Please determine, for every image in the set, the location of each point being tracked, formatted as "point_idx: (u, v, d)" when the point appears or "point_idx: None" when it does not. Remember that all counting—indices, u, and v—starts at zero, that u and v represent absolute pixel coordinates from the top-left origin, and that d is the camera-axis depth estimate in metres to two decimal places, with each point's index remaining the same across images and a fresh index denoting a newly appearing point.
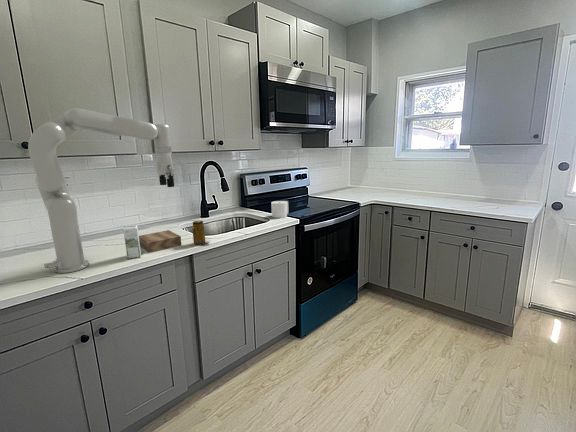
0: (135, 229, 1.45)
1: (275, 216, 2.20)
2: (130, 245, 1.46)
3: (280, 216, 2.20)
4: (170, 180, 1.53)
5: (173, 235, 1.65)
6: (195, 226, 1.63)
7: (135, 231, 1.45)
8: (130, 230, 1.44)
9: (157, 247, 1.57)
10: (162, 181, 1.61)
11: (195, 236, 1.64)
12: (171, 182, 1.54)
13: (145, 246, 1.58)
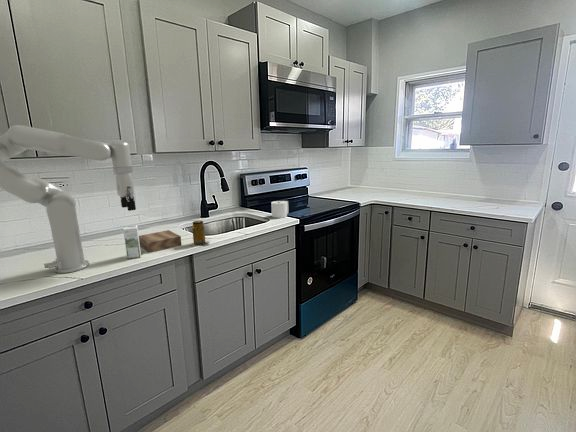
0: (135, 229, 1.45)
1: (275, 216, 2.20)
2: (130, 245, 1.46)
3: (280, 216, 2.20)
4: (130, 203, 1.40)
5: (173, 235, 1.65)
6: (195, 226, 1.63)
7: (135, 231, 1.45)
8: (130, 230, 1.44)
9: (157, 247, 1.57)
10: (124, 203, 1.48)
11: (195, 236, 1.64)
12: (132, 205, 1.40)
13: (145, 246, 1.58)
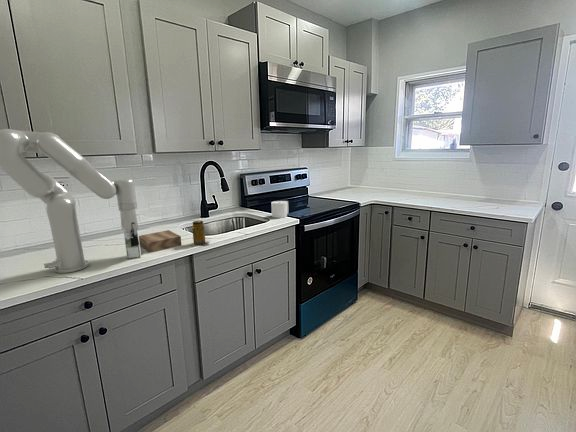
0: None
1: (275, 216, 2.20)
2: (130, 245, 1.46)
3: (280, 216, 2.20)
4: (134, 239, 1.44)
5: (173, 235, 1.65)
6: (195, 226, 1.63)
7: None
8: None
9: (157, 247, 1.57)
10: None
11: (195, 236, 1.64)
12: (135, 241, 1.45)
13: (145, 246, 1.58)
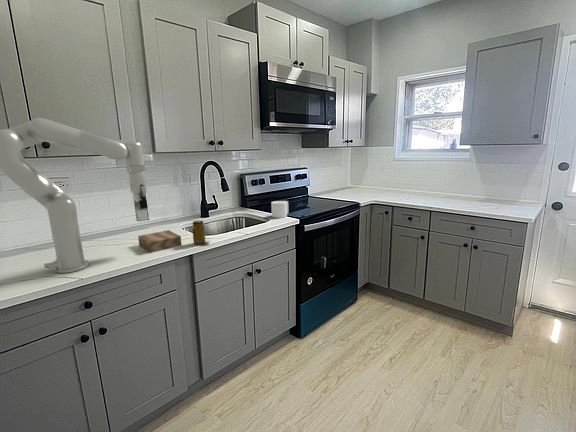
0: None
1: (275, 216, 2.20)
2: (139, 208, 1.49)
3: (280, 216, 2.20)
4: (143, 201, 1.47)
5: (173, 235, 1.65)
6: (195, 226, 1.63)
7: None
8: None
9: (157, 247, 1.57)
10: None
11: (195, 236, 1.64)
12: (144, 203, 1.48)
13: (145, 246, 1.58)
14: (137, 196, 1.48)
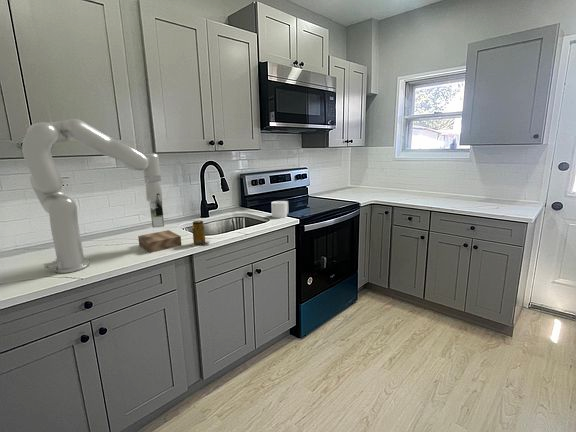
0: None
1: (275, 216, 2.20)
2: (155, 215, 1.59)
3: (280, 216, 2.20)
4: (159, 209, 1.57)
5: (173, 235, 1.65)
6: (195, 226, 1.63)
7: None
8: None
9: (157, 247, 1.57)
10: None
11: (195, 236, 1.64)
12: (160, 211, 1.58)
13: (145, 246, 1.58)
14: (153, 204, 1.58)
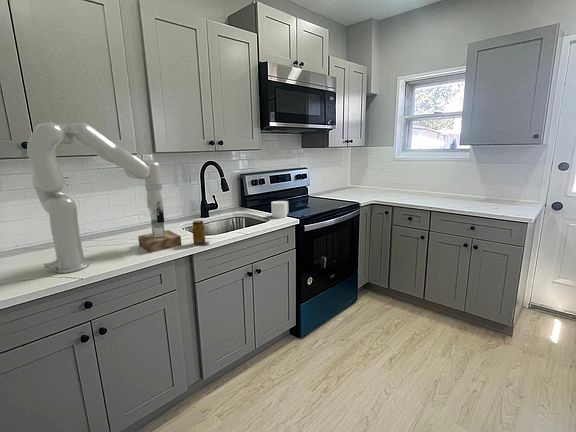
0: None
1: (275, 216, 2.20)
2: (156, 226, 1.60)
3: (280, 216, 2.20)
4: (160, 216, 1.57)
5: (173, 235, 1.65)
6: (195, 226, 1.63)
7: None
8: None
9: (157, 247, 1.57)
10: None
11: (195, 236, 1.64)
12: (161, 218, 1.58)
13: (145, 246, 1.58)
14: (154, 215, 1.58)
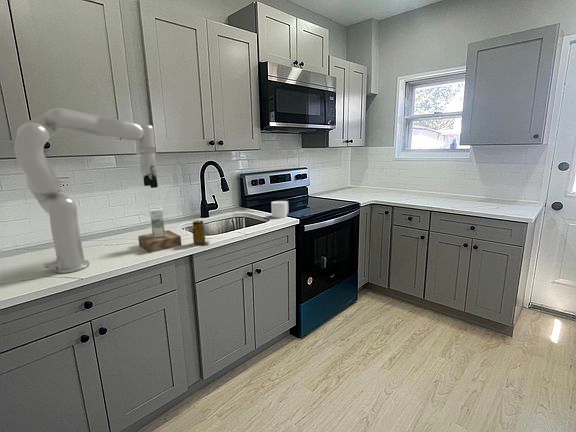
0: (161, 211, 1.59)
1: (275, 216, 2.20)
2: (156, 226, 1.60)
3: (280, 216, 2.20)
4: (153, 181, 1.53)
5: (173, 235, 1.65)
6: (195, 226, 1.63)
7: (161, 212, 1.59)
8: (156, 211, 1.58)
9: (157, 247, 1.57)
10: (146, 182, 1.61)
11: (195, 236, 1.64)
12: (154, 183, 1.54)
13: (145, 246, 1.58)
14: (154, 215, 1.58)
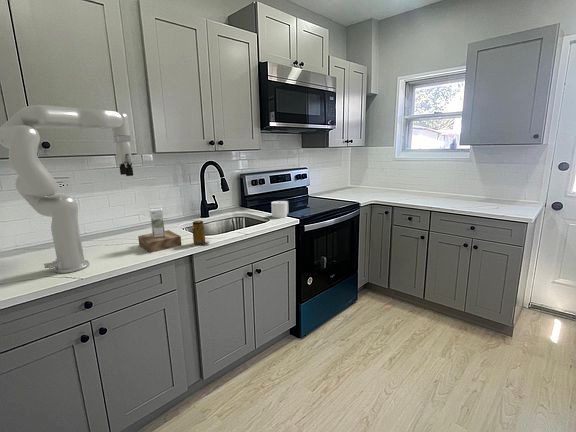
0: (161, 211, 1.59)
1: (275, 216, 2.20)
2: (156, 226, 1.60)
3: (280, 216, 2.20)
4: (128, 169, 1.54)
5: (173, 235, 1.65)
6: (195, 226, 1.63)
7: (161, 212, 1.59)
8: (156, 211, 1.58)
9: (157, 247, 1.57)
10: (122, 170, 1.61)
11: (195, 236, 1.64)
12: (130, 171, 1.54)
13: (145, 246, 1.58)
14: (154, 215, 1.58)
